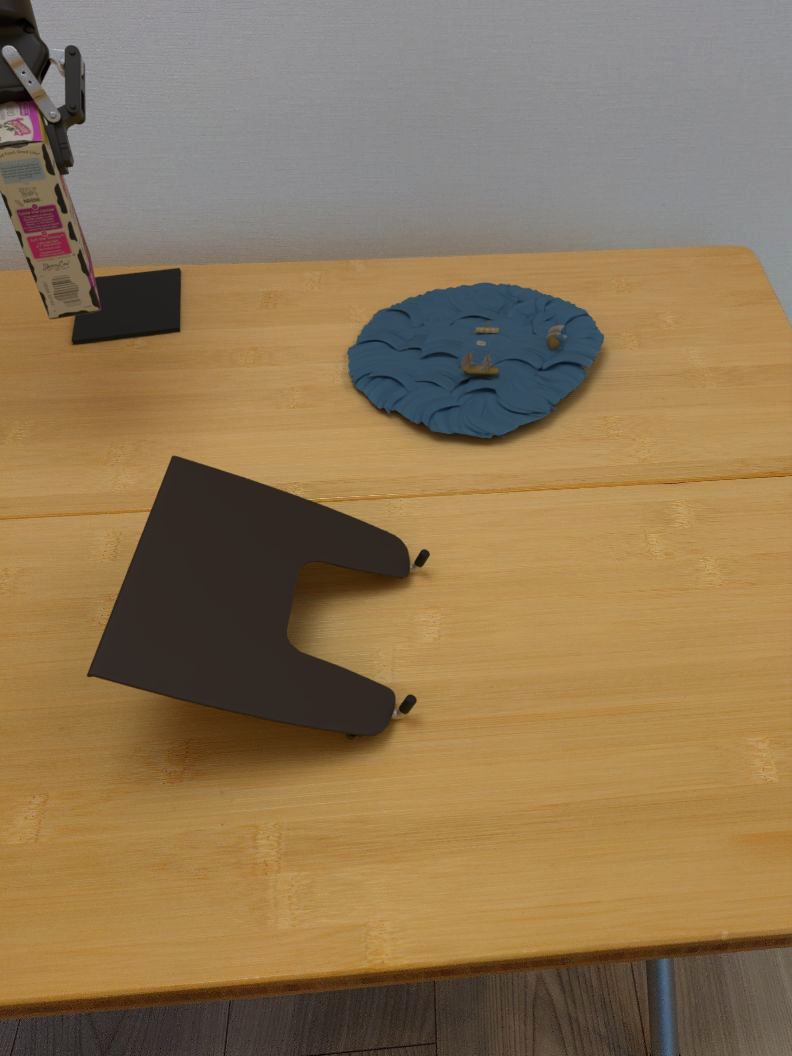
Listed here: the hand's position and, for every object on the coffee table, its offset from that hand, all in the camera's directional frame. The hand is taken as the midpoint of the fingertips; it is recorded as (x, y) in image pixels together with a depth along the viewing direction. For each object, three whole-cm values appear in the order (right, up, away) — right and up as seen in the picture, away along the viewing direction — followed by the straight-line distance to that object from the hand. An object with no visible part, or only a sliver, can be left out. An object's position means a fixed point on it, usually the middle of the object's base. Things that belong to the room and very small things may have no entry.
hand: (28, 175), depth 83 cm
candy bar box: (-1, -7, +10) cm, 12 cm away
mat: (-5, -3, +33) cm, 33 cm away
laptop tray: (+24, -41, -3) cm, 47 cm away
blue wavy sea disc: (+38, -12, +26) cm, 47 cm away
